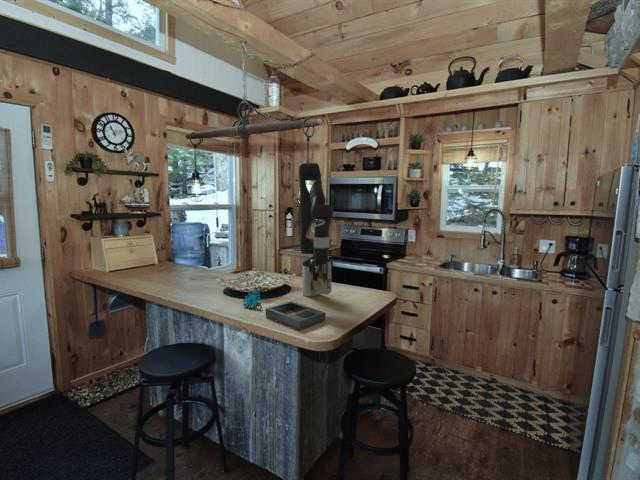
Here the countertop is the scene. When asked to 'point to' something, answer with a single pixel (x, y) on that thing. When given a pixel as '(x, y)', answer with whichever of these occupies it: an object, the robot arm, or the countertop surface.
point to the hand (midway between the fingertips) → (321, 279)
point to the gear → (252, 300)
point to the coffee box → (322, 278)
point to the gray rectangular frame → (296, 315)
